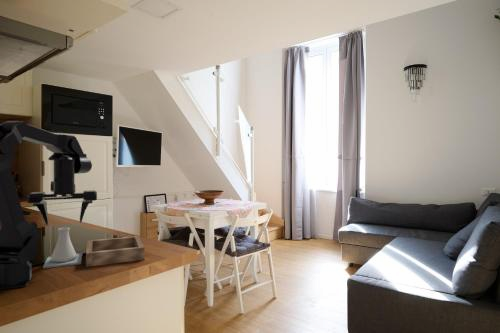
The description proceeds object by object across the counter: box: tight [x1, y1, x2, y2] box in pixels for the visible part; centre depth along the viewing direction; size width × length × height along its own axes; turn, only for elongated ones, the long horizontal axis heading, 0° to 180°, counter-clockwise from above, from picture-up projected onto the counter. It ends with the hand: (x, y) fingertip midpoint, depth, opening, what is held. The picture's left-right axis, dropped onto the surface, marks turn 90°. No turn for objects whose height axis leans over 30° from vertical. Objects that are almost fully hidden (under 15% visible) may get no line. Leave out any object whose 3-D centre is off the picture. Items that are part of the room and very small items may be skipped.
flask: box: [50, 226, 78, 262], centre depth 100 cm, size 7×7×10 cm
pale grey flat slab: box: [42, 252, 83, 269], centre depth 100 cm, size 10×10×1 cm
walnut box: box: [85, 235, 145, 268], centre depth 107 cm, size 17×17×4 cm
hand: (64, 223), depth 100 cm, fingers open, 9 cm apart
